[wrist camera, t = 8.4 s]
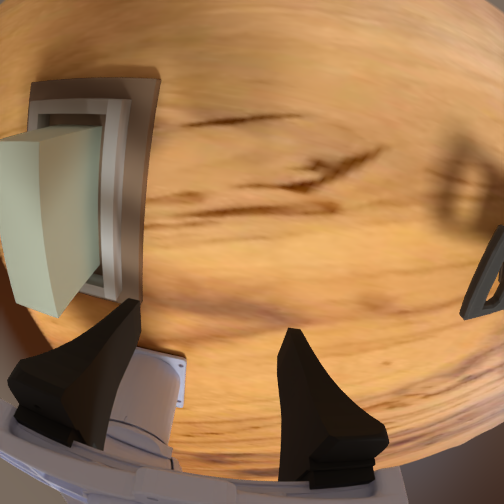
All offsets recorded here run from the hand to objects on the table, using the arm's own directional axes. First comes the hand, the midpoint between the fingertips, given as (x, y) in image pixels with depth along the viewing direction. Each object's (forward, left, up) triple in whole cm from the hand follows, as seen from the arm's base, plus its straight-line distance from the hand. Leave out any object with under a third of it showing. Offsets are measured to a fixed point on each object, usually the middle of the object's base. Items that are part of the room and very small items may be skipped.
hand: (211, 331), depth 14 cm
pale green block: (+2, +12, -8) cm, 15 cm away
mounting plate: (+2, +12, -9) cm, 15 cm away
